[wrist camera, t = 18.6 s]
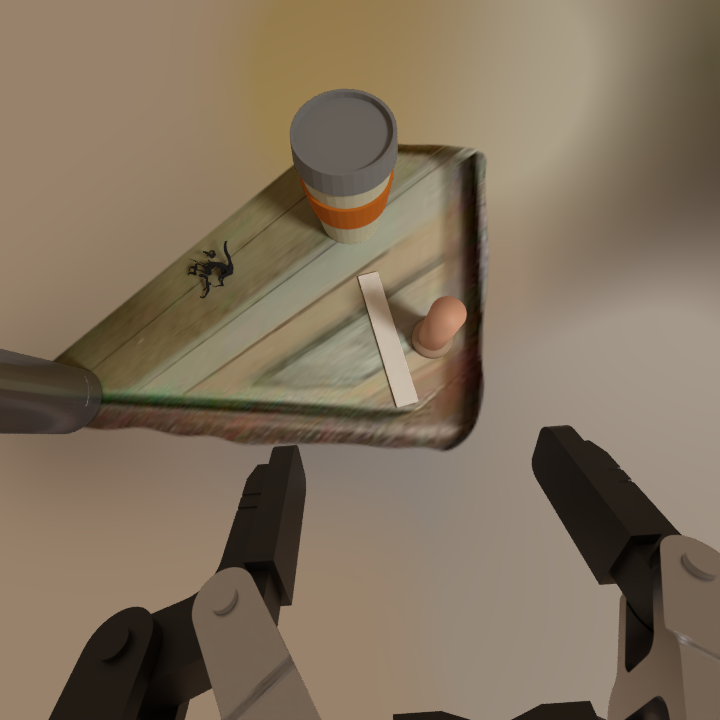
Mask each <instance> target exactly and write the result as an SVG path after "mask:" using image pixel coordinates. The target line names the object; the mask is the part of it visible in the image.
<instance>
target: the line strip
mask: <svg viewBox="0 0 720 720" xmlns="http://www.w3.org/2000/svg"><path fill="white" fill-rule="evenodd" d="M358 279H359V282H360V285H361V289H362V292H363V295H364V299H365V302H366V305H367V309H368V312H369V316H370V319H371V322H372V326H373V329H374V332H375V336H376V339H377V342H378V346H379V349H380V352H381V356H382V359H383V362H384V366H385V369H386V372H387V376H388V379H389V383H390V386H391V389H392V393H393V396H394V399H395V403H396V406H397V407H401V406H404V405H408V404H411V403H415V402H418V398H417V395H416V392H415V388H414V385H413V382H412V379H411V376H410V373H409V369H408V366H407V363H406V360H405V357H404V354H403V350H402V347H401V344H400V341H399V338H398V335H397V331H396V328H395V325H394V322H393V319H392V316H391V312H390V309H389V306H388V303H387V300H386V297H385V293H384V290H383V287H382V284H381V281H380V278H379V274H378V271H377V272H373V273H369V274H365V275H362V276H358Z"/></svg>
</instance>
